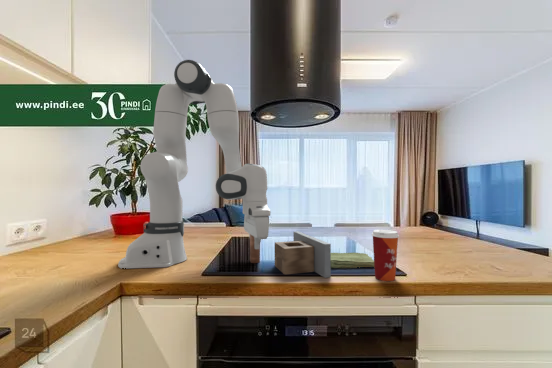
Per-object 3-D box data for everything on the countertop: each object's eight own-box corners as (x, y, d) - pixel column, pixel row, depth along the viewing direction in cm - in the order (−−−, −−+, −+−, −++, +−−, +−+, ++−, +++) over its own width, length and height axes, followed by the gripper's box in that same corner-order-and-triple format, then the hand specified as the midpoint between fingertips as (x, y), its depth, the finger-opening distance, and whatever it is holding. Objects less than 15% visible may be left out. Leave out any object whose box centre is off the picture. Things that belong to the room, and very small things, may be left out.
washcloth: (380, 269, 97) (380, 260, 97) (327, 270, 96) (327, 260, 96) (366, 259, 110) (366, 250, 110) (319, 259, 109) (319, 251, 109)
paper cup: (394, 284, 81) (395, 234, 81) (367, 278, 86) (367, 231, 86) (402, 277, 87) (402, 230, 87) (376, 272, 92) (376, 228, 92)
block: (284, 274, 90) (284, 248, 90) (274, 265, 99) (274, 242, 99) (313, 271, 93) (314, 246, 93) (301, 263, 102) (301, 240, 102)
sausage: (251, 263, 102) (251, 229, 102) (248, 260, 105) (249, 227, 105) (260, 262, 103) (261, 228, 103) (258, 260, 107) (258, 227, 107)
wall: (324, 277, 87) (324, 244, 87) (293, 258, 109) (293, 231, 109) (330, 277, 87) (330, 243, 87) (298, 257, 110) (298, 231, 110)
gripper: (240, 206, 113) (240, 242, 113) (253, 211, 94) (253, 254, 94) (255, 206, 115) (255, 241, 115) (272, 211, 96) (272, 253, 96)
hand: (254, 247), depth 104 cm, fingers closed on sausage, 3 cm apart
